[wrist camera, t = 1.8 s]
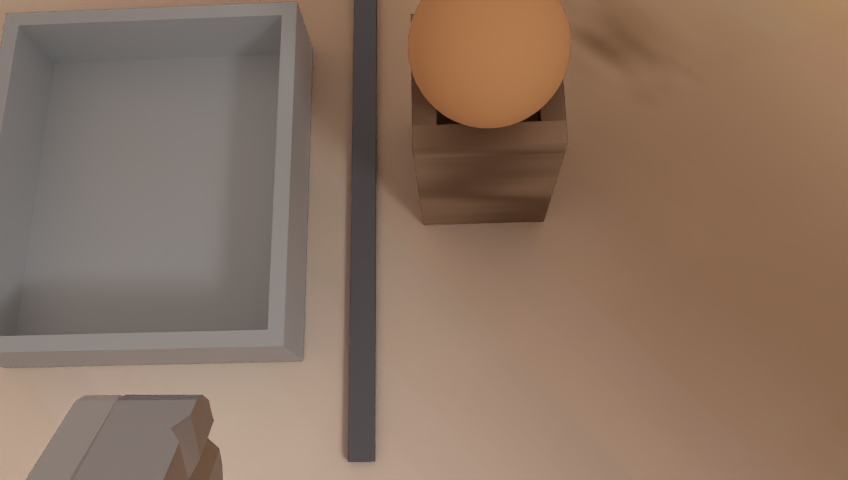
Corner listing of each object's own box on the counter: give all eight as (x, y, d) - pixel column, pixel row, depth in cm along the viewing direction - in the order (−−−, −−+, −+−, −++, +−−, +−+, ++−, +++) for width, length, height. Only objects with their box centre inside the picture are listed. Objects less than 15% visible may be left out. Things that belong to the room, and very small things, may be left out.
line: (376, -28, 36) (376, -32, 36) (375, 461, 30) (374, 461, 29) (355, -27, 36) (354, -31, 36) (348, 461, 30) (347, 461, 30)
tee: (536, 112, 34) (557, 8, 26) (543, 221, 32) (568, 143, 25) (421, 116, 34) (410, 13, 27) (423, 224, 33) (412, 148, 25)
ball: (555, 19, 27) (575, -80, 22) (565, 151, 26) (589, 75, 21) (412, 25, 27) (401, -73, 22) (413, 156, 26) (402, 82, 21)
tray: (312, 48, 35) (297, 1, 32) (303, 361, 31) (283, 345, 28) (49, 58, 36) (6, 13, 32) (4, 367, 32) (-52, 353, 28)
